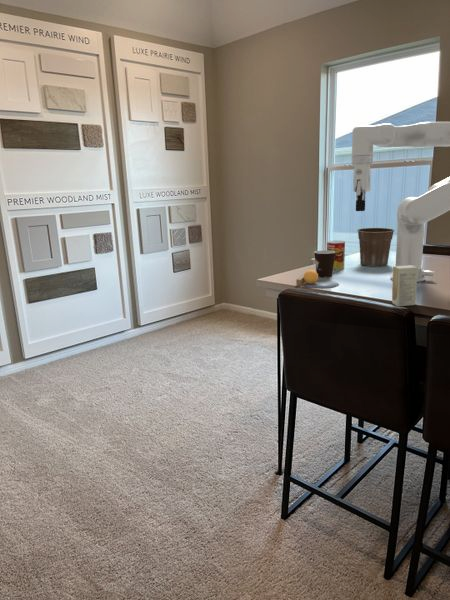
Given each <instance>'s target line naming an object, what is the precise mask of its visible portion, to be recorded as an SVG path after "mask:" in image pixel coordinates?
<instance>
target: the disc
mask: <svg viewBox="0 0 450 600" xmlns="http://www.w3.org/2000/svg"><path fill="white" fill-rule="evenodd" d="M304 286H305V287H307V288H311V289H312V288H313V289H331V288H337V287H339V286H340V283H339V282H337V281H332V280H324V279H323V280H321V279H320V280H319V279H318V280H317V282H316V283H314V284H308V283H306V282H305V283H304ZM336 286H337V287H336Z"/></svg>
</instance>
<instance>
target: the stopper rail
mask: <svg viewBox="0 0 450 600" xmlns="http://www.w3.org/2000/svg"><path fill="white" fill-rule="evenodd" d="M295 282H296V287H300V286H302V285H305V283H306V282H305V280H304V274H301V276H299V277H298V278H297V279H296V280H295Z"/></svg>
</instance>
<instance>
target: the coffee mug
mask: <svg viewBox="0 0 450 600" xmlns="http://www.w3.org/2000/svg"><path fill="white" fill-rule="evenodd" d="M313 253H314V261H315V262H314V263H315V271H316V272H317V274H318V278H329V277H330V276H331V277H332V276H333V272H334V270H333V265H334V258H335V251H327V250H318V251H317V250H315V251H314V252H313Z"/></svg>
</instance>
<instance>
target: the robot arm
mask: <svg viewBox="0 0 450 600" xmlns="http://www.w3.org/2000/svg"><path fill="white" fill-rule="evenodd" d="M351 144H352V145H351V166H353V167H354V169H353V180H352V181H353V186H352V187H353V188H352V189H353V190H352V191H353V192H354V193H356V194H355V211H356V212H364V211H365V210H366V193H368V192H370V191H371V166H373V162H374V159H373V158H374V146H376V147H379V148H401V147H402V148H405V147H410V148H433V147H437V148H438V147H441V148H442V147H448V148H449V147H450V121H424V122H418V123H414V124H409V125H397V126H395V125H394V124H392V123H387V122H386V123H380V124H375V125H367V124H365V125H357V126H355V127H354V128H353V129H352V138H351ZM449 211H450V176H449V177H446V178H445V179H442V180H440V181H439V182H436V183H434V184H432V185H431V186H430V187H429V188H428V189H427V191H426V192H425V193H424V194H421V195H420V196H409V197H406V198H404V199H402V200H401V201H400V203H399V205H398V207H397V211H396V221H397V222H396V223H397V233H396V249H395V250H396V251H395V264H394V266H406V265H413V266H415V267H417V283H419V282H424V281H425V280H426V276H427V277H434V276H435V275H434V274H435V271H434V270H433V271H431V270H425V269H423V267H422V266H423V265H422V264H423V253H424V252H423V249H424V239H425V223H428V222H429V221H432V220H434V219H436V218H438V217H439V216H442V215H444V214H445V213H447V212H449ZM390 280H392V281H393V274H391V275H390Z"/></svg>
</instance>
